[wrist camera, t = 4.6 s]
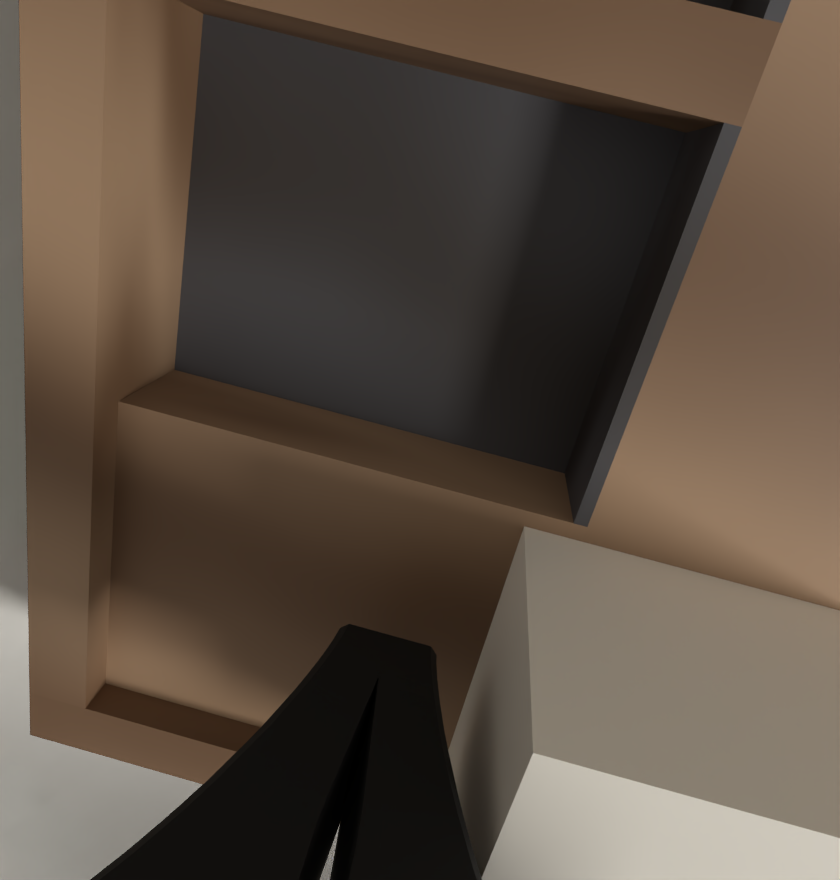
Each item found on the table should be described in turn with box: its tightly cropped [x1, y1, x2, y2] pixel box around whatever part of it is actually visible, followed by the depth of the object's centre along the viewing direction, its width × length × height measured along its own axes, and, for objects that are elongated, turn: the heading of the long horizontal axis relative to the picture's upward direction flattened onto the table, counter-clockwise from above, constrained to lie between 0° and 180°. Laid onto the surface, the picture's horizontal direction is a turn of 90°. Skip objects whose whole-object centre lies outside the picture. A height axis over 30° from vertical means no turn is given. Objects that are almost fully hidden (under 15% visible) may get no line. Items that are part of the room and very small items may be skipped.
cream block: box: [448, 526, 840, 880], centre depth 8 cm, size 5×5×4 cm
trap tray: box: [19, 0, 840, 822], centre depth 7 cm, size 25×16×3 cm, turn 167°
